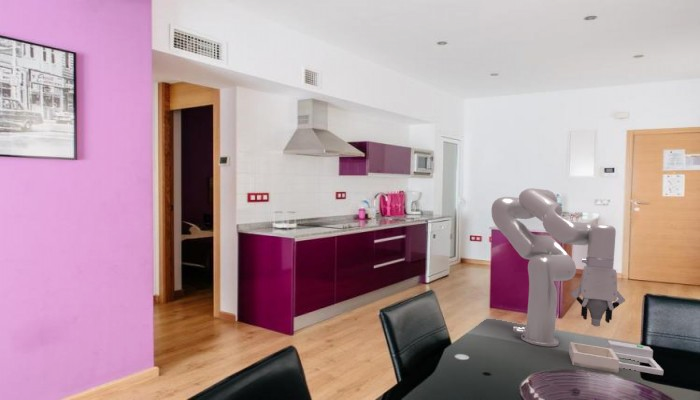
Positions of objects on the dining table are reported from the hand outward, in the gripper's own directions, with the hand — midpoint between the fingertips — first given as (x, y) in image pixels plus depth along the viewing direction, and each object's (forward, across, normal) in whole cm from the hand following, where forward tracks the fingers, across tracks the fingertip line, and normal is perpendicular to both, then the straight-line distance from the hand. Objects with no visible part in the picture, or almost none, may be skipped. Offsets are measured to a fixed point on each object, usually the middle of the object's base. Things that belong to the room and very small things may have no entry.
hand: (595, 319), depth 147 cm
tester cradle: (+14, +13, +9) cm, 21 cm away
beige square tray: (+14, 0, 0) cm, 14 cm away
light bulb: (+2, 0, 0) cm, 2 cm away
